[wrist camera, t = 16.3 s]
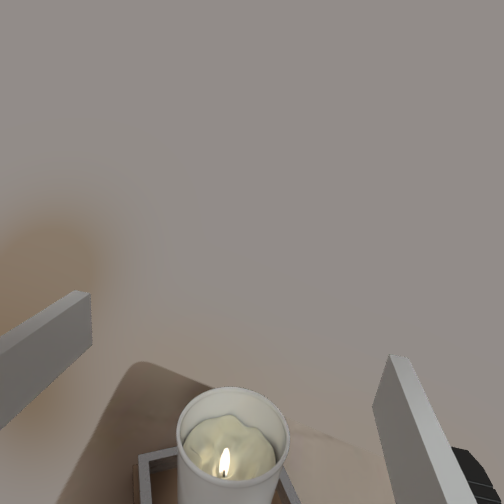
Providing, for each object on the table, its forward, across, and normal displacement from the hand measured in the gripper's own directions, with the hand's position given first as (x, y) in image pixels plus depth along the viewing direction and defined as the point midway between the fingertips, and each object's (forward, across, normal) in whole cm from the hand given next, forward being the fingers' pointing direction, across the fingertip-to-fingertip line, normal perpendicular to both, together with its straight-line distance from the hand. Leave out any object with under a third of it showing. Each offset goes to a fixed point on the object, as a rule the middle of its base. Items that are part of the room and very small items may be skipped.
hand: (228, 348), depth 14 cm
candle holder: (+10, 0, -27) cm, 29 cm away
